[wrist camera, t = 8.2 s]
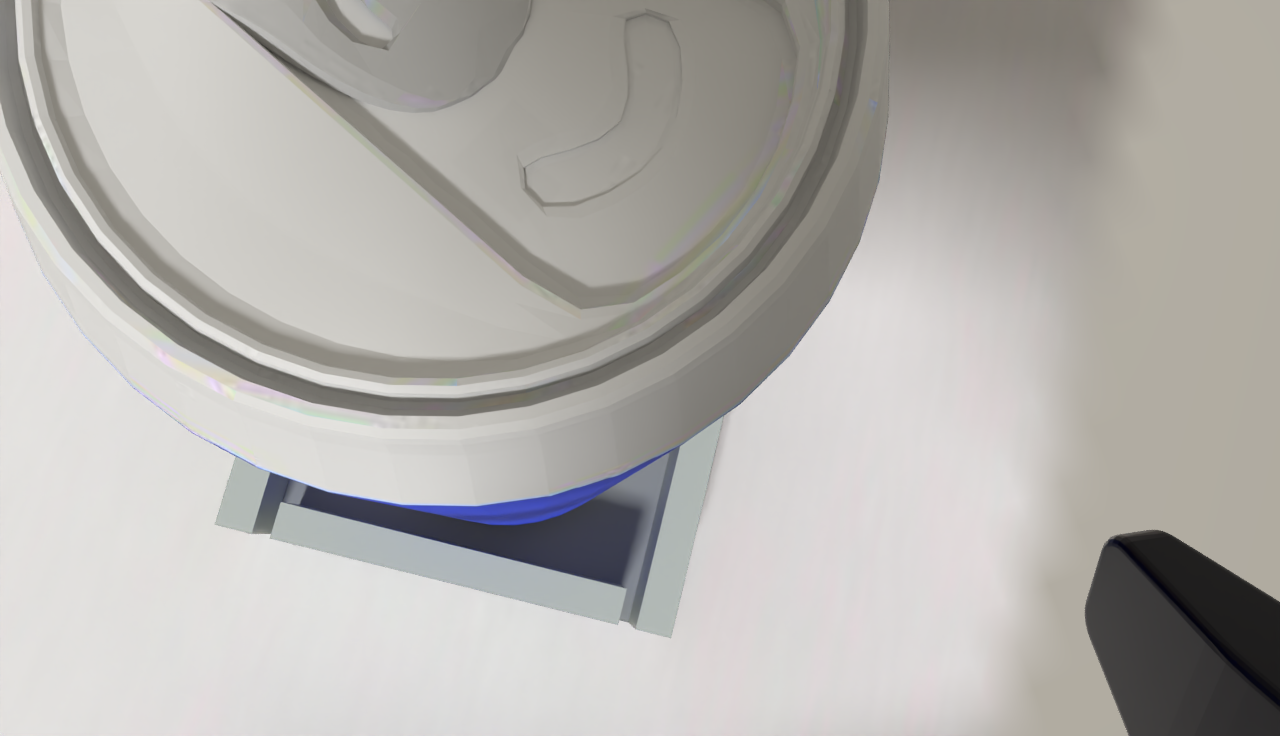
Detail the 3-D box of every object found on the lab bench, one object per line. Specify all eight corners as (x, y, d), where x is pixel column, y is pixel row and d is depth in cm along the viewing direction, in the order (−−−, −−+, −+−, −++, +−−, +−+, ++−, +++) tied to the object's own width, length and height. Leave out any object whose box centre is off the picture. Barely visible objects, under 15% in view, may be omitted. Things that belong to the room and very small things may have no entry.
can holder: (655, 625, 21) (671, 638, 19) (253, 525, 21) (214, 524, 18) (747, 242, 22) (773, 206, 20) (369, 141, 22) (348, 90, 19)
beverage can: (703, 340, 21) (1120, -130, 6) (551, 582, 20) (600, 719, 5) (468, 190, 21) (310, -650, 6) (305, 424, 20) (-344, 110, 5)
